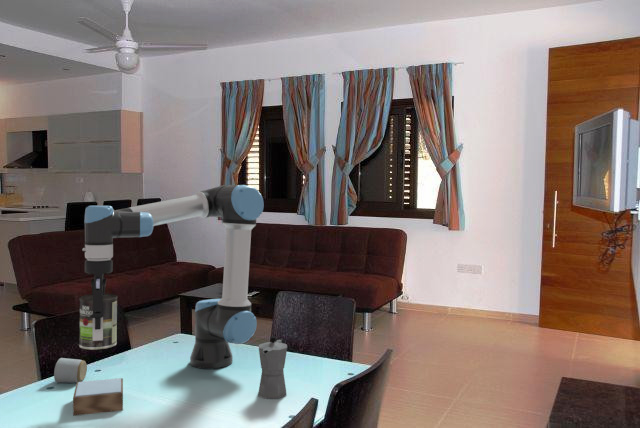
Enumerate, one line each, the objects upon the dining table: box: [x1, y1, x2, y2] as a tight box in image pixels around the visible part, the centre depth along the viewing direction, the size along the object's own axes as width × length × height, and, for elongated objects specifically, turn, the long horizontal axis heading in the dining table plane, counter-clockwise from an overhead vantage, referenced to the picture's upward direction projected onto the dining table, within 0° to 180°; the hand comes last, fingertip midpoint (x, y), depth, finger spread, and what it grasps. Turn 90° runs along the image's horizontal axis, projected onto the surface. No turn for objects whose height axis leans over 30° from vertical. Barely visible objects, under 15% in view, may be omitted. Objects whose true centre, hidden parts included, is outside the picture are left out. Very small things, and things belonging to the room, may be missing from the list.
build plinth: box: [72, 377, 124, 416], centre depth 164 cm, size 13×13×5 cm
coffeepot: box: [258, 336, 288, 400], centre depth 175 cm, size 15×9×18 cm, turn 162°
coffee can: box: [78, 293, 119, 351], centre depth 163 cm, size 10×10×14 cm
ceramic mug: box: [53, 357, 88, 384], centre depth 184 cm, size 11×8×8 cm
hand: (98, 335), depth 163 cm, fingers closed on coffee can, 10 cm apart
